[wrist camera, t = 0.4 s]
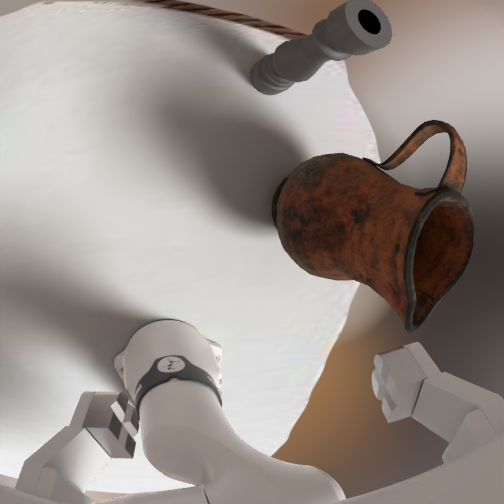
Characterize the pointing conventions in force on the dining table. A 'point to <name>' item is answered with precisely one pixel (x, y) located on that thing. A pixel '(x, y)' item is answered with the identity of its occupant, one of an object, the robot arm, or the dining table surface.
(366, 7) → the candle holder
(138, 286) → the dining table surface
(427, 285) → the pitcher
